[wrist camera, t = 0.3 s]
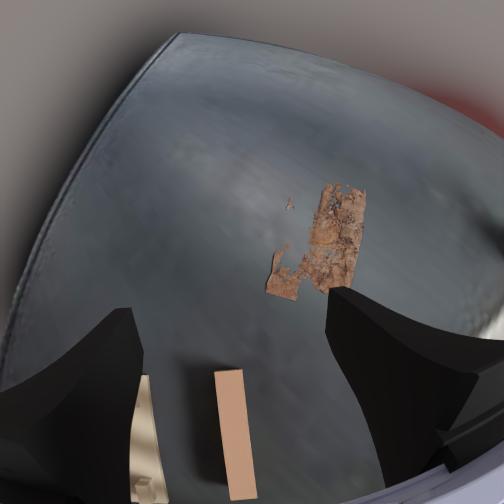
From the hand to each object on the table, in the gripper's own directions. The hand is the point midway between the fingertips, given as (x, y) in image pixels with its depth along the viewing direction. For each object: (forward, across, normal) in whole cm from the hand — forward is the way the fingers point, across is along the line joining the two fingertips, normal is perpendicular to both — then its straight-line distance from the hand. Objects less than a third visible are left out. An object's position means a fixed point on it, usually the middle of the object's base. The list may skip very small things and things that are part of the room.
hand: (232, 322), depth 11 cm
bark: (+31, -14, +9) cm, 35 cm away
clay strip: (+14, +1, +27) cm, 30 cm away
